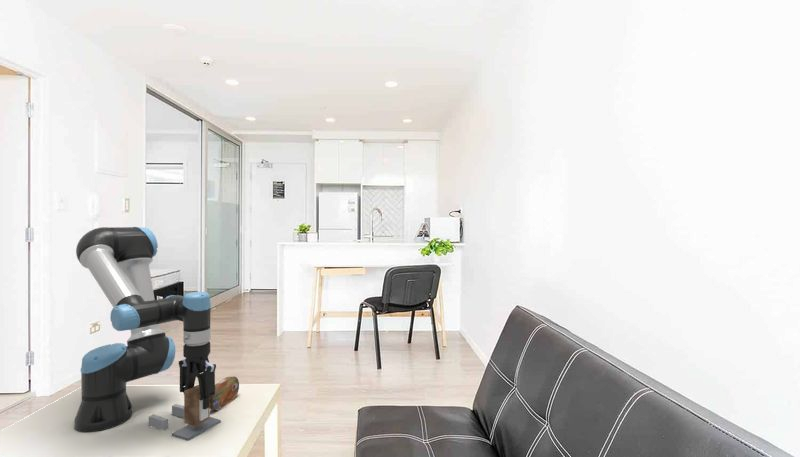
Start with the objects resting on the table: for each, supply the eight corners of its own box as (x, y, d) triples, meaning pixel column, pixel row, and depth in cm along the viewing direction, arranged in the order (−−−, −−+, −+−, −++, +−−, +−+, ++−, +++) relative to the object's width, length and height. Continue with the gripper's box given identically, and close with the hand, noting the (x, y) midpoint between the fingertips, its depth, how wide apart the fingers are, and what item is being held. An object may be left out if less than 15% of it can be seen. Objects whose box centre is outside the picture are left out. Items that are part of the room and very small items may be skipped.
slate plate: (171, 435, 119) (171, 433, 119) (204, 417, 130) (204, 415, 130) (188, 440, 117) (188, 438, 117) (220, 422, 128) (220, 419, 128)
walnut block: (184, 422, 122) (184, 390, 122) (198, 415, 127) (198, 384, 127) (196, 426, 120) (195, 393, 120) (209, 418, 125) (209, 387, 125)
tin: (213, 414, 133) (213, 389, 133) (205, 413, 134) (205, 388, 134) (239, 395, 148) (240, 373, 148) (232, 394, 148) (232, 372, 148)
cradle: (148, 425, 125) (148, 416, 125) (175, 412, 134) (175, 403, 134) (163, 430, 122) (163, 420, 122) (190, 416, 131) (190, 407, 131)
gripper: (165, 342, 123) (165, 416, 124) (208, 349, 116) (208, 428, 117) (186, 336, 130) (187, 406, 130) (228, 342, 123) (228, 417, 123)
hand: (197, 416), depth 123 cm, fingers closed on walnut block, 5 cm apart
